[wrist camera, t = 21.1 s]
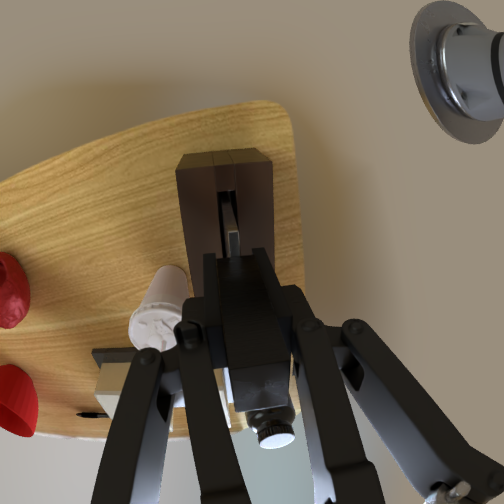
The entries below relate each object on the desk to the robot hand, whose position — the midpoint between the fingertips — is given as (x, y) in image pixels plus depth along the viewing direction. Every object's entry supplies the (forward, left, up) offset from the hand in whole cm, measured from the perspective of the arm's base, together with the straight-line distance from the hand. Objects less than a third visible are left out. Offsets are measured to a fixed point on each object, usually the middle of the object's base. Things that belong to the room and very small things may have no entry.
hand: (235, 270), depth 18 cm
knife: (0, 0, -9) cm, 9 cm away
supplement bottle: (-3, +27, -13) cm, 31 cm away
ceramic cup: (+44, +26, -13) cm, 53 cm away
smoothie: (+7, +8, -13) cm, 17 cm away
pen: (+26, +35, -13) cm, 46 cm away
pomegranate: (+30, +5, -13) cm, 33 cm away
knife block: (0, 0, -13) cm, 13 cm away
